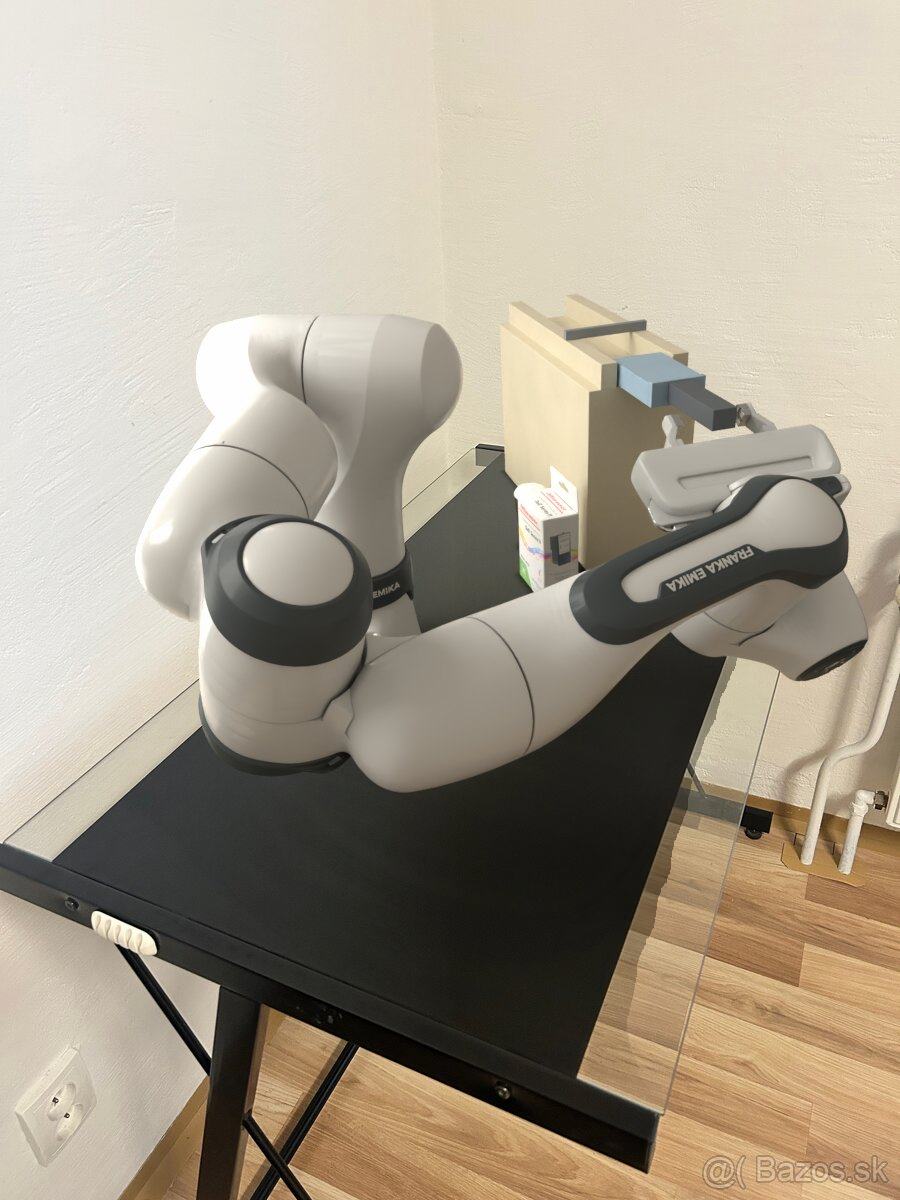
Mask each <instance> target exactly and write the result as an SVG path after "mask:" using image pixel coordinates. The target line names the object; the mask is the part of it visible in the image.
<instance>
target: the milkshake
mask: <svg viewBox="0 0 900 1200" xmlns="http://www.w3.org/2000/svg"><path fill="white" fill-rule="evenodd" d="M551 485H552V484H551ZM550 487H551V486H550ZM541 489H546V488H545V487H544V486H543V485H540V484H537V483H525V484H521V485H519V486H516V488H515V490H514V491H513V497H514V506H515V511H516V517H517V518H516V519H517V520H516V521H517V528H518V530H519V517H518V494H519V493H524V492H530V491H535V490H541Z"/></svg>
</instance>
